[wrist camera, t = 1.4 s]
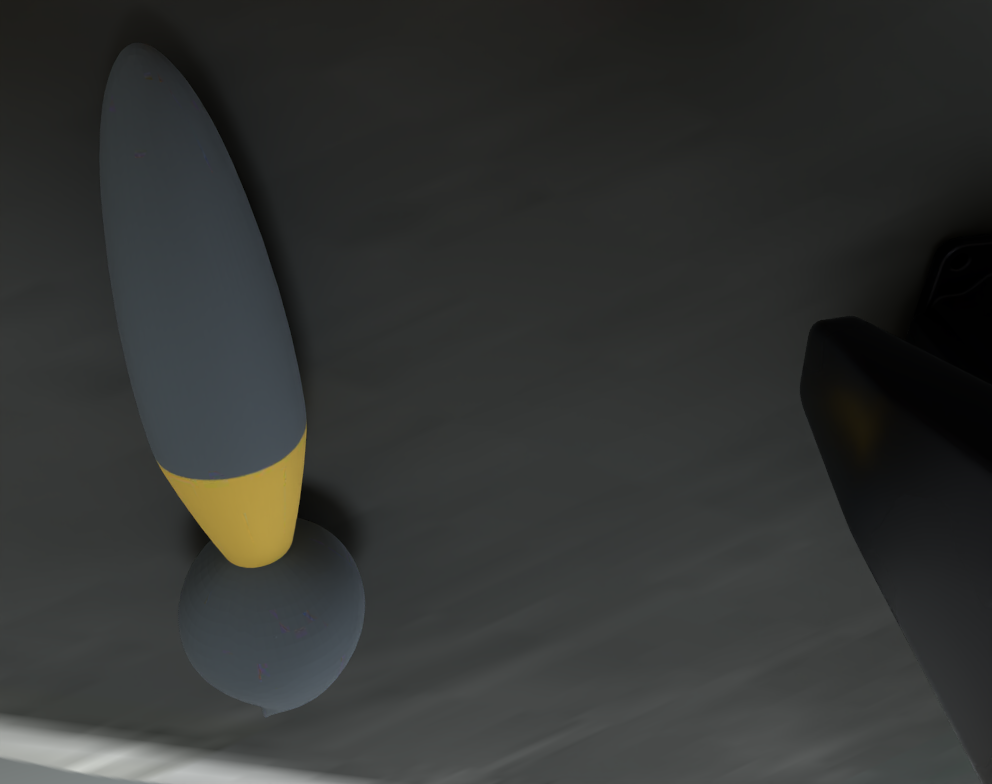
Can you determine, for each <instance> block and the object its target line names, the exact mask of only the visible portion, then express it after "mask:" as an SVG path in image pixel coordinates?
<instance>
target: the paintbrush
mask: <svg viewBox="0 0 992 784" xmlns="http://www.w3.org/2000/svg"><path fill="white" fill-rule="evenodd" d="M99 165H100V191H101V203H102V216H103V225H104V234H105V243H106V252H107V261H108V269H109V275H110V281H111V288H112V294H113V300H114V306H115V312H116V318H117V324H118V329H119V334H120V338H121V343H122V348H123V352H124V357H125V361H126V366H127V370H128V375H129V378H130V382H131V386H132V389H133V393H134V397H135V400H136V404H137V407H138V411H139V414H140V417H141V421H142V424H143V427H144V430H145V433H146V436H147V439H148V442H149V445H150V447H151V450H152V452H153V455H154V457H155V459H156V461H157V463H158V464H159V466H160V468H161V470H162V471H163V473H164V474H165V476H166V477H167V479H168V481H169V482H170V484H171V485H172V487H173V488H174V490H175V491H176V493H177V494H178V496H179V497H180V499H181V500H182V502H183V503H184V504H185V506H186V507H187V509H188V510H189V511H190V513H191V514H192V515H193V517H194V518H195V520H196V521H197V522H198V524H199V525H200V526H201V528H202V529H203V530H204V532H205V533H206V534H207V535H208V537H209V538H210V539H211V540H210V541H209V542H208V543H207V544H206V545H205V547H204V548H203V549H202V550H201V552H200V553H199V554H198V556H197V557H196V559H195V561H194V562H193V564H192V566H191V568H190V570H189V572H188V574H187V576H186V578H185V581H184V584H183V588H182V591H181V596H180V602H179V610H178V620H179V632H180V637H181V641H182V644H183V647H184V650H185V652H186V654H187V656H188V658H189V660H190V662H191V664H192V665H193V667H194V668H195V669H196V670H197V671H198V673H199V674H200V675H201V676H202V677H203V678H204V679H205V680H206V681H207V682H208V683H210V684H211V685H212V686H214V687H215V688H216V689H218V690H220V691H221V692H223V693H225V694H227V695H228V696H231V697H233V698H236V699H238V700H241V701H243V702H246V703H249V704H253V705H257V706H260V707H262V712H263V715H264V717H265V718H266V717H268V716H270V715H272V714H276V713H280V712H283V711H287V710H291V709H294V708H296V707H299V706H302V705H304V704H306V703H308V702H309V701H311V700H313V699H315V698H316V697H317V696H319V695H320V694H321V693H322V692H324V691H325V690H326V689H327V688H328V687H329V686H330V685H331V684H332V683H333V682H334V681H335V679H336V678H337V677H338V676H339V674H340V673H341V672H342V670H343V669H344V668H345V666H346V665H347V663H348V661H349V659H350V658H351V656H352V654H353V652H354V650H355V648H356V645H357V643H358V640H359V637H360V634H361V631H362V627H363V621H364V614H365V596H364V588H363V584H362V580H361V576H360V573H359V570H358V568H357V566H356V564H355V561H354V559H353V558H352V556H351V554H350V553H349V552H348V550H347V549H346V547H345V546H344V545H343V543H342V542H341V541H340V540H339V539H338V538H336V537H335V536H334V535H333V534H332V533H331V532H329V531H328V530H326V529H325V528H323V527H321V526H319V525H318V524H315V523H313V522H310V521H307V520H304V519H300V518H297V514H298V507H299V501H300V494H301V485H302V477H303V469H304V458H305V445H306V431H307V421H306V419H307V418H306V409H305V401H304V395H303V389H302V384H301V378H300V373H299V368H298V364H297V359H296V355H295V350H294V346H293V341H292V336H291V332H290V329H289V325H288V321H287V318H286V314H285V310H284V307H283V303H282V299H281V296H280V292H279V288H278V285H277V282H276V279H275V276H274V273H273V270H272V267H271V264H270V261H269V258H268V254H267V251H266V248H265V245H264V242H263V239H262V236H261V233H260V231H259V228H258V225H257V223H256V220H255V217H254V215H253V212H252V209H251V207H250V204H249V201H248V199H247V196H246V194H245V191H244V189H243V186H242V184H241V182H240V179H239V177H238V174H237V172H236V169H235V167H234V165H233V163H232V160H231V158H230V156H229V154H228V152H227V149H226V147H225V145H224V143H223V141H222V139H221V136H220V135H219V133H218V131H217V129H216V127H215V125H214V123H213V121H212V119H211V118H210V116H209V114H208V112H207V111H206V109H205V107H204V106H203V104H202V103H201V101H200V99H199V98H198V96H197V94H196V93H195V92H194V90H193V89H192V87H191V86H190V84H189V83H188V82H187V80H186V79H185V78H184V77H183V75H182V74H181V73H180V71H179V70H178V69H177V68H176V67H175V66H174V65H173V64H172V63H171V62H170V61H169V60H168V59H167V58H166V57H165V56H164V55H163V54H162V53H161V52H160V51H158V50H157V49H155V48H153V47H152V46H150V45H147V44H145V43H140V42H137V43H132V44H129V45H128V46H126V47H125V48H124V49H123V50H122V51H121V52H120V54H119V55H118V57H117V58H116V60H115V62H114V64H113V66H112V69H111V72H110V75H109V78H108V81H107V85H106V89H105V93H104V99H103V105H102V114H101V125H100V151H99Z"/></svg>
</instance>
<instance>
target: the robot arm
mask: <svg viewBox="0 0 992 784" xmlns="http://www.w3.org/2000/svg"><path fill="white" fill-rule="evenodd" d="M957 255H960V256H959V257H958V258H957V259H956V260H954V261H952V260H953V259H954V258H955V257H956V256H957ZM800 394H801V401H802V405H803V408H804V411H805V414H806V416H807V419H808V422H809V424H810V427H811V429H812V432H813V435H814V437H815V440H816V443H817V445H818V448H819V451H820V453H821V456H822V459H823V461H824V464H825V467H826V469H827V472H828V475H829V477H830V480H831V482H832V485H833V488H834V490H835V493H836V496H837V498H838V501H839V504H840V506H841V509H842V512H843V514H844V516H845V519H846V521H847V524H848V526H849V529H850V531H851V533H852V535H853V537H854V539H855V541H856V543H857V545H858V547H859V549H860V551H861V553H862V555H863V557H864V559H865V561H866V563H867V565H868V567H869V569H870V571H871V572H872V574H873V576H874V578H875V580H876V582H877V584H878V586H879V588H880V590H881V592H882V594H883V595H884V597H885V599H886V601H887V603H888V605H889V607H890V609H891V611H892V613H893V615H894V617H895V618H896V620H897V622H898V624H899V626H900V628H901V630H902V632H903V634H904V636H905V638H906V640H907V641H908V643H909V645H910V647H911V649H912V651H913V653H914V655H915V657H916V659H917V661H918V662H919V664H920V666H921V668H922V670H923V672H924V674H925V676H926V678H927V680H928V682H929V684H930V685H931V687H932V689H933V691H934V693H935V695H936V697H937V699H938V701H939V703H940V705H941V707H942V708H943V710H944V712H945V714H946V716H947V718H948V720H949V722H950V724H951V726H952V728H953V730H954V731H955V733H956V735H957V737H958V739H959V741H960V743H961V745H962V747H963V749H964V751H965V753H966V754H967V756H968V758H969V760H970V762H971V764H972V766H973V768H974V770H975V772H976V774H977V775H978V777H979V779H980V781H981V783H982V784H992V234H987V235H977V236H967V237H957V238H954V239H950V240H949V241H947V242H945V243H943V244H942V245H941V246H940V247H939V248H938V250H937V252H936V253H935V255H934V258H933V261H932V264H931V267H930V270H929V273H928V276H927V279H926V282H925V285H924V288H923V291H922V294H921V297H920V300H919V303H918V306H917V309H916V312H915V315H914V318H913V320H912V322H911V325H910V328H909V331H908V334H907V337H906V340H905V341H904V340H902V339H900V338H898V337H896V336H894V335H892V334H890V333H888V332H886V331H884V330H882V329H881V328H879V327H877V326H875V325H873V324H871V323H869V322H867V321H865V320H863V319H860V318H858V317H855V316H846V317H839V318H833V319H827V320H820V321H818V322H816V323H815V324H814V325H813V326H812V328H811V330H810V332H809V336H808V342H807V347H806V353H805V359H804V365H803V371H802V377H801V383H800Z"/></svg>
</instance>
